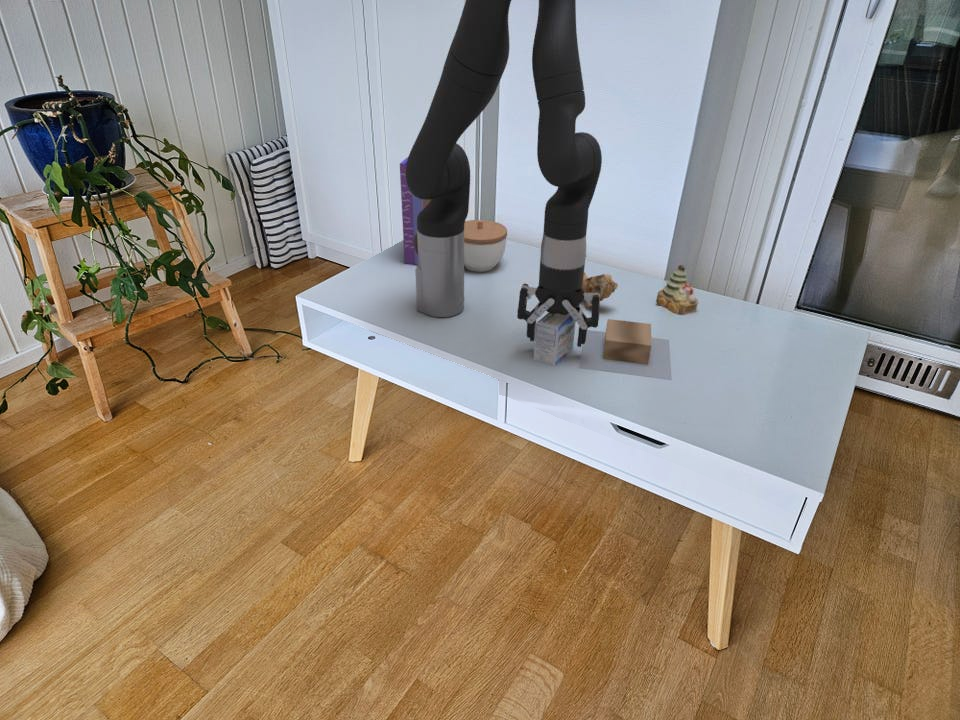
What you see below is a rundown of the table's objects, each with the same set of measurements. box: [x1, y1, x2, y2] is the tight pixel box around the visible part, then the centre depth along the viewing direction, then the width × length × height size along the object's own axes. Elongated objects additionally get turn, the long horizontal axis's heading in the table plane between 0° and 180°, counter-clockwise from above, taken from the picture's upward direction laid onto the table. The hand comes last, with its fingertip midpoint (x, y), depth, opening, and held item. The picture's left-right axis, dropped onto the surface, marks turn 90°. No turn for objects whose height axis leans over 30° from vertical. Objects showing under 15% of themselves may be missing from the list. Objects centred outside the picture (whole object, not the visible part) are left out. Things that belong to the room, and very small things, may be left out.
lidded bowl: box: [464, 219, 508, 273], centre depth 149 cm, size 13×13×11 cm
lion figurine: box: [583, 271, 619, 310], centre depth 133 cm, size 15×5×9 cm, turn 34°
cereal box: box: [399, 156, 431, 267], centre depth 152 cm, size 17×5×24 cm, turn 167°
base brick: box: [603, 318, 652, 365], centre depth 117 cm, size 8×8×4 cm
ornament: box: [655, 264, 699, 316], centre depth 131 cm, size 8×6×10 cm
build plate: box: [578, 329, 673, 381], centre depth 117 cm, size 16×14×1 cm
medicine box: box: [533, 312, 577, 367], centre depth 115 cm, size 8×4×9 cm, turn 148°
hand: (555, 341), depth 115 cm, fingers open, 8 cm apart
